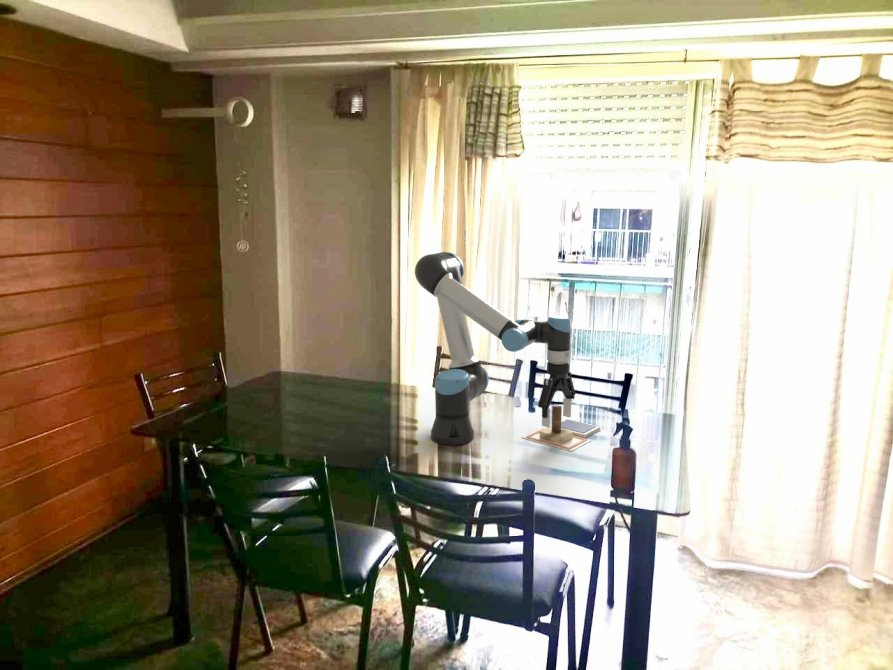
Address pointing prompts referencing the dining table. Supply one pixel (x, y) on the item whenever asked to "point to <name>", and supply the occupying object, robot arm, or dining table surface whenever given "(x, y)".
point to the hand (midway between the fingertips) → (556, 421)
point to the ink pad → (579, 428)
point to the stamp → (556, 429)
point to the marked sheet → (569, 445)
